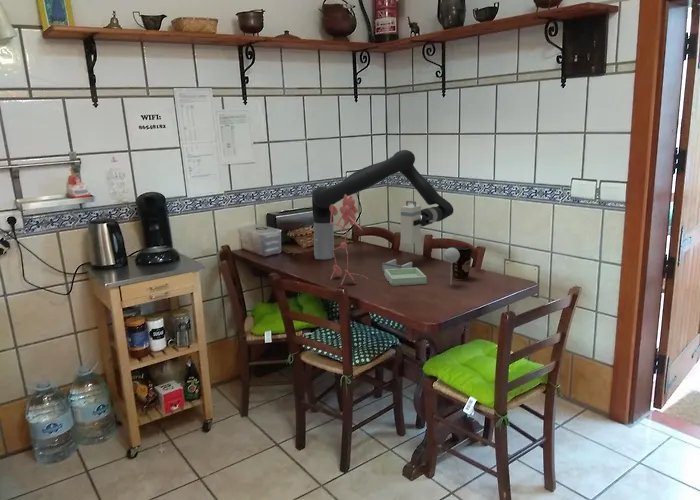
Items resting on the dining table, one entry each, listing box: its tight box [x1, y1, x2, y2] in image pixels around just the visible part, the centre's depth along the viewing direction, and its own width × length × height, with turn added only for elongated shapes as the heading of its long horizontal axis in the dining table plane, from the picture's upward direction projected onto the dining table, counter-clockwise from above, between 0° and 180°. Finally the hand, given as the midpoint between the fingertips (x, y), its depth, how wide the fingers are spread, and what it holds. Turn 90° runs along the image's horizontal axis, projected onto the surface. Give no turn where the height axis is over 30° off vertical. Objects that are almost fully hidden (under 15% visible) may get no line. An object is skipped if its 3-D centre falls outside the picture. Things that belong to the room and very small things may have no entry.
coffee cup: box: [452, 245, 473, 281], centre depth 222 cm, size 9×8×13 cm
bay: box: [381, 259, 413, 272], centre depth 236 cm, size 10×9×4 cm
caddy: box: [400, 200, 422, 245], centre depth 240 cm, size 8×6×18 cm
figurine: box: [329, 194, 369, 286], centre depth 219 cm, size 15×26×35 cm, turn 29°
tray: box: [383, 267, 428, 287], centre depth 221 cm, size 14×14×3 cm
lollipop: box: [443, 247, 460, 286], centre depth 213 cm, size 6×6×15 cm
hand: (408, 222), depth 238 cm, fingers closed on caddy, 5 cm apart
